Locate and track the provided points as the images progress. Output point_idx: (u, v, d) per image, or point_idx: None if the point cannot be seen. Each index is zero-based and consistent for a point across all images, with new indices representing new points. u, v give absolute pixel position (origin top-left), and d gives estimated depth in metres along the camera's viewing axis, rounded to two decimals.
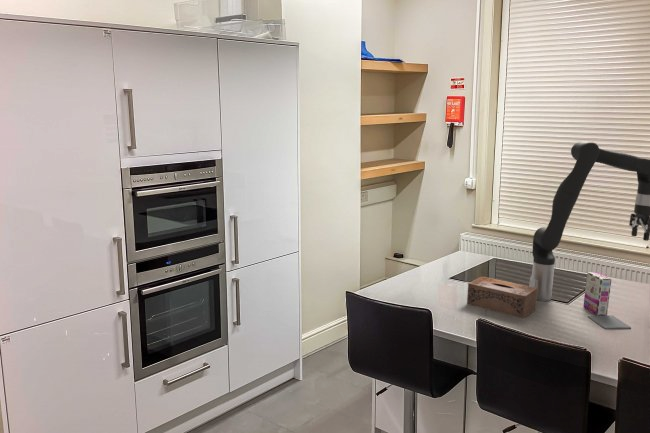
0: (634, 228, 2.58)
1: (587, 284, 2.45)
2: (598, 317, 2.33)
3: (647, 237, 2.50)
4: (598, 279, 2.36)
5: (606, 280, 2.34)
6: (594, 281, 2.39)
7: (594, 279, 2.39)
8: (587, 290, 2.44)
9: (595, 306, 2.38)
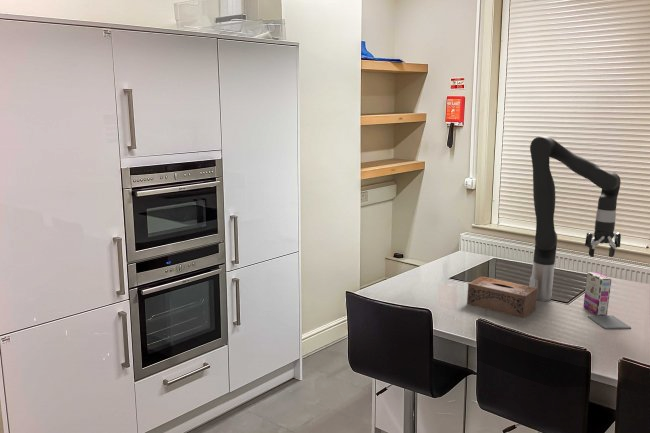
0: None
1: (587, 284, 2.45)
2: (598, 317, 2.33)
3: None
4: (598, 279, 2.36)
5: (606, 280, 2.34)
6: (594, 281, 2.39)
7: (594, 279, 2.39)
8: (587, 290, 2.44)
9: (595, 306, 2.38)
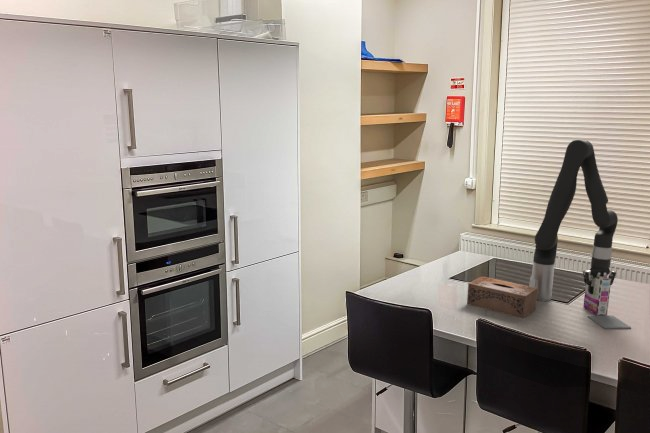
0: None
1: None
2: (598, 317, 2.33)
3: None
4: (598, 279, 2.36)
5: (606, 280, 2.34)
6: None
7: None
8: (587, 290, 2.44)
9: (595, 306, 2.38)
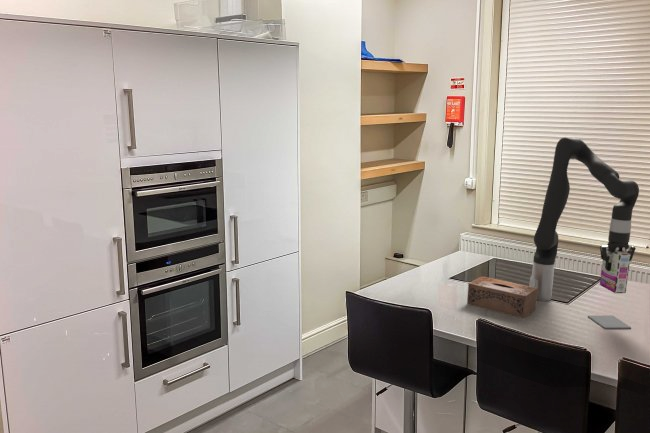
0: None
1: None
2: (598, 317, 2.33)
3: None
4: (616, 254, 2.20)
5: (625, 255, 2.18)
6: None
7: None
8: (604, 267, 2.28)
9: (613, 284, 2.22)
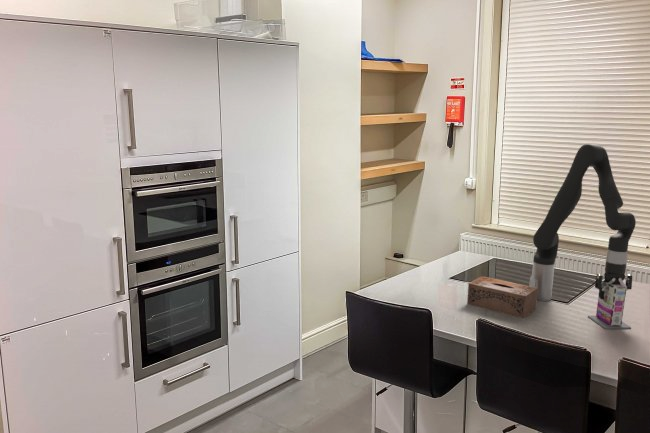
0: None
1: None
2: None
3: None
4: (612, 288, 2.23)
5: (621, 289, 2.21)
6: (608, 290, 2.26)
7: (608, 288, 2.25)
8: (600, 299, 2.31)
9: (609, 316, 2.25)
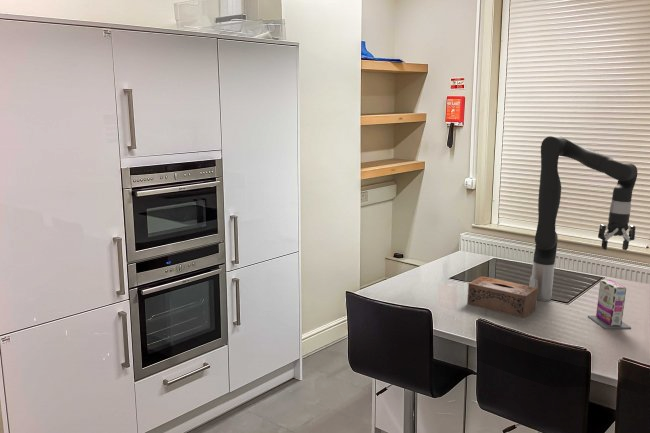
0: None
1: (600, 292, 2.31)
2: None
3: None
4: (612, 288, 2.23)
5: (621, 289, 2.21)
6: (608, 290, 2.26)
7: (608, 288, 2.25)
8: (600, 299, 2.31)
9: (609, 316, 2.25)
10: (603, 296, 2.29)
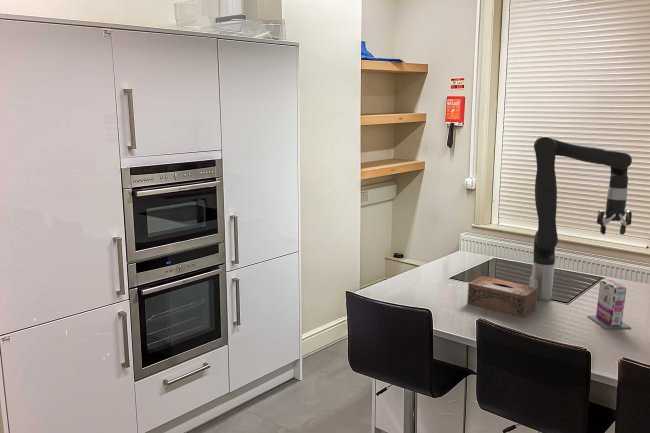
0: None
1: (600, 292, 2.31)
2: None
3: None
4: (612, 288, 2.23)
5: (621, 289, 2.21)
6: (608, 290, 2.26)
7: (608, 288, 2.25)
8: (600, 299, 2.31)
9: (609, 316, 2.25)
10: (603, 296, 2.29)
